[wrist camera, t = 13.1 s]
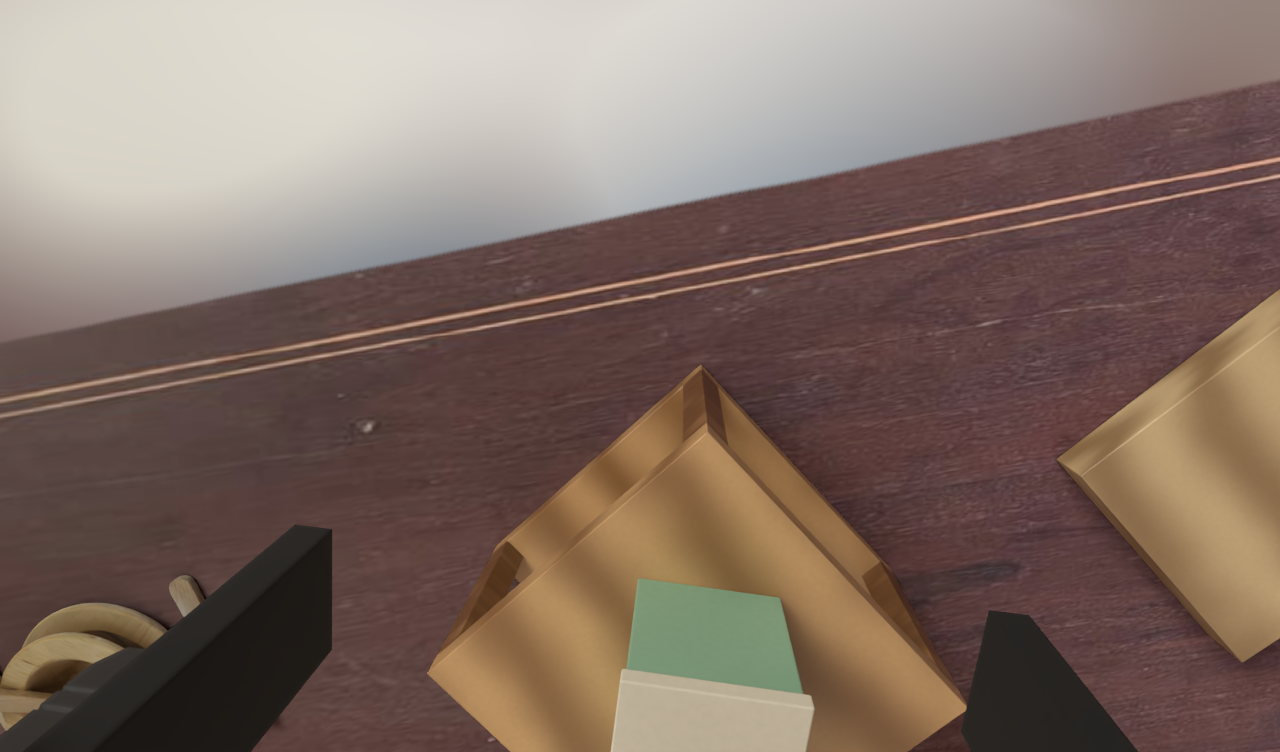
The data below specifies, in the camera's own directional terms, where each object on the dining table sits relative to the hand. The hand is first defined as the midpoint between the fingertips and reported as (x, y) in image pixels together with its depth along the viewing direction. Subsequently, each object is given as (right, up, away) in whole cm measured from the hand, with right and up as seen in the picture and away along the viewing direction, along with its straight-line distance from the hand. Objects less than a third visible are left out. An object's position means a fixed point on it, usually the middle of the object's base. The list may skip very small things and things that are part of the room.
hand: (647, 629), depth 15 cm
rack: (+3, -7, +34) cm, 35 cm away
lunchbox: (+2, -10, +21) cm, 23 cm away
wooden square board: (+37, -1, +31) cm, 48 cm away
